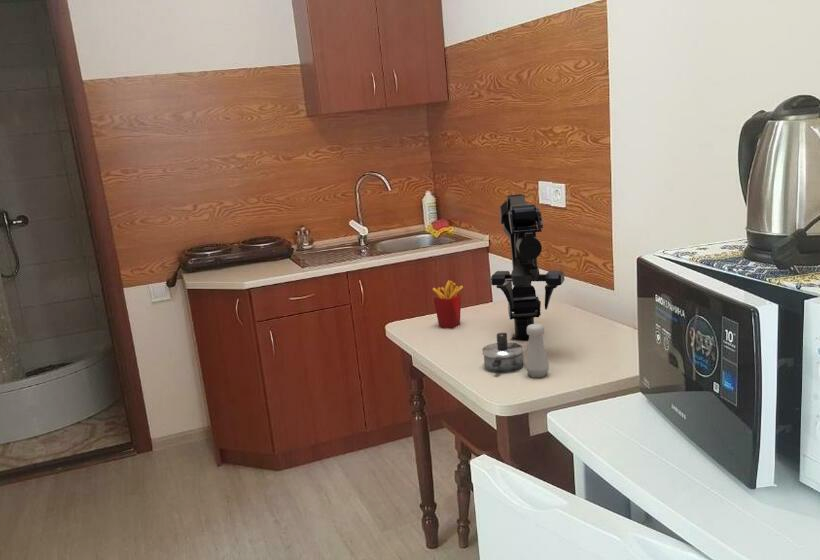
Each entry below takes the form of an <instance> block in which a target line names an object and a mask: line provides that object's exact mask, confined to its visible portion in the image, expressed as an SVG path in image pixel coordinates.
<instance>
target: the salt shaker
mask: <svg viewBox="0 0 820 560" xmlns="http://www.w3.org/2000/svg"><path fill="white" fill-rule="evenodd" d="M544 333H545V328H544V326H543V325H542V324H540V323H534V324H531V325H528V326H527V334H528V335H529V340H528V342H527V343H528V345H527V350H526V351H527V352H526V359H525V370H526V372H527V374H528V375H529V377H531V376H532V378H543V377H546V376H547V373H548V371H549V368H550V363H549V360H548V355H547V352H546V348H545V344H544V338H543V335H544Z"/></svg>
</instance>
